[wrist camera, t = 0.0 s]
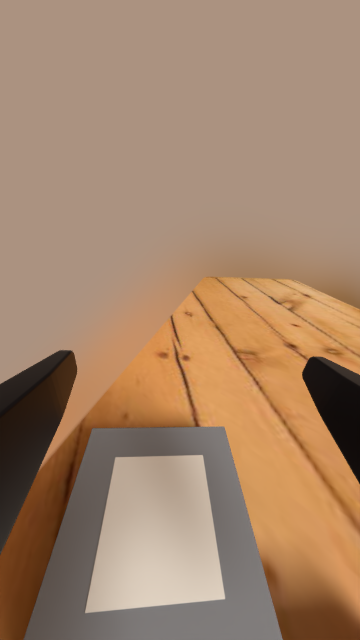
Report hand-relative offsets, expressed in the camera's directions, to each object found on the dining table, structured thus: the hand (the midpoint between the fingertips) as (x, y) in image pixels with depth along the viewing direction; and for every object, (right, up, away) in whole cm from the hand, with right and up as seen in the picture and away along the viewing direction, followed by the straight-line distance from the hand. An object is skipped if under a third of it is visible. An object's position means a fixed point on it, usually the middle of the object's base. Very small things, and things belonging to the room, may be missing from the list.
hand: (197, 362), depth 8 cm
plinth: (-2, -15, +7) cm, 17 cm away
